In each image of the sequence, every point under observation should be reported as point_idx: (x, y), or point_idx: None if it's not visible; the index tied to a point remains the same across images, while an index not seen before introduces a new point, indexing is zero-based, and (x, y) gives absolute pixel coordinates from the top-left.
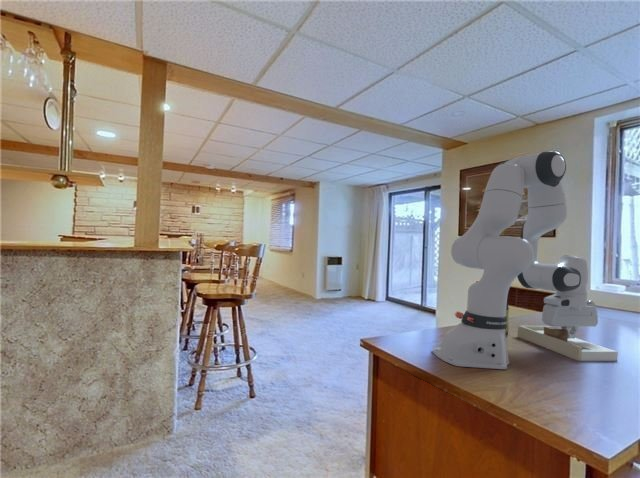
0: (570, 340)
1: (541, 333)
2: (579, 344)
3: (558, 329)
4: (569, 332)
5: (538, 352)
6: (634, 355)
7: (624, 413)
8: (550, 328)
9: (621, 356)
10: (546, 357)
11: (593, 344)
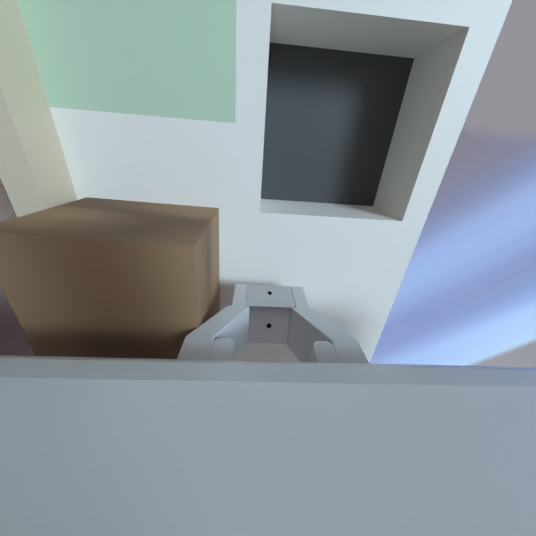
0: (284, 282)
1: (24, 205)
2: (256, 350)
3: (121, 347)
4: (238, 355)
5: (5, 297)
6: (512, 348)
7: None
8: (32, 312)
9: (426, 355)
10: (13, 351)
11: None
